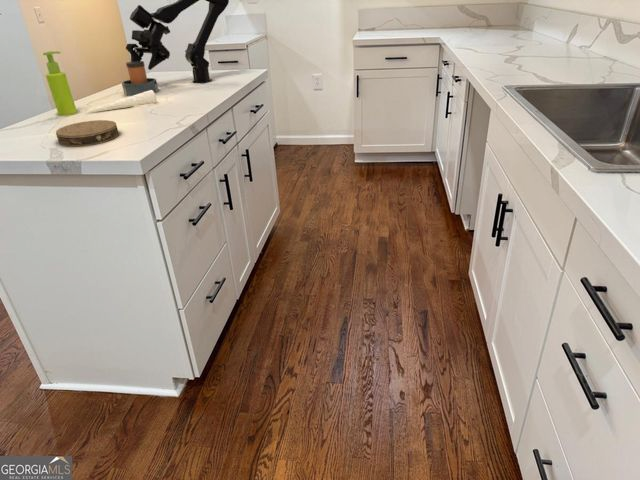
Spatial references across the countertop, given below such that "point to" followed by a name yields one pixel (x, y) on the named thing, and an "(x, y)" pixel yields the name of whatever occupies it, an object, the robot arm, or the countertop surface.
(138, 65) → the spice tin
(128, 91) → the bowl
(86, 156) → the countertop surface
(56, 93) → the soap dispenser
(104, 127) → the round wood slice
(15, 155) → the countertop surface
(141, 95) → the unicorn horn
